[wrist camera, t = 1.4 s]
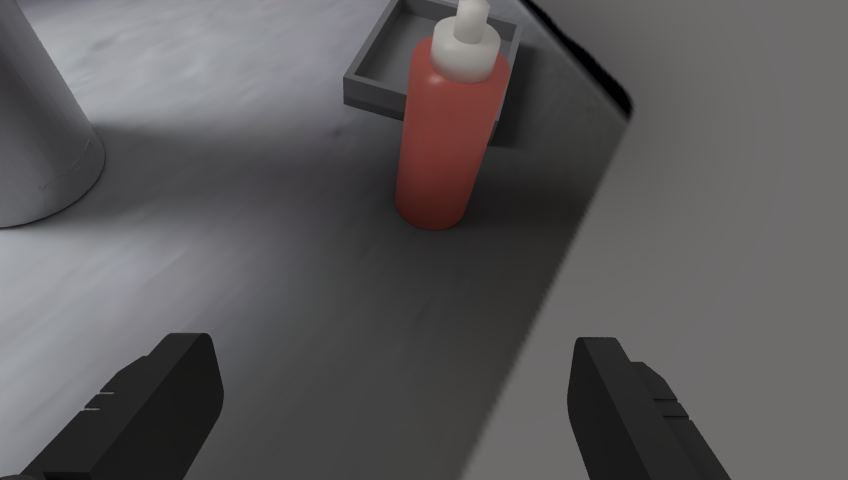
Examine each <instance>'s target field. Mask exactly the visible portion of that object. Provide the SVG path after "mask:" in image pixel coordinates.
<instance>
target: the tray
mask: <svg viewBox="0 0 848 480" xmlns="http://www.w3.org/2000/svg"><path fill="white" fill-rule="evenodd" d="M457 10H458V5H456V4H452V3H449V2H445V1H441V0H391V1H390V2H389V4H388V6H387V7H386V9H385V11H384V12H383V14H382V15H381V17H380V19H379V20H378V22H377V23H376V25H375V27H374V28H373V30H372V31H371V33H370V35H369V36H368V38H367V40H366V41H365V43H364V44H363V46H362V48H361V49H360V51H359V52H358V54H357V56H356V57H355V59H354V60H353V62H352V64H351V65H350V67H349V69H348V70H347V72H346V73H345V75H344V77H343V89H344V104H346V105H350V106H353V107H357V108H360V109H364V110H367V111H371V112H374V113H378V114H381V115H385V116H388V117H392V118H395V119H399V120H402V121H404V116H405V108H406V99H407V91H408V83H409V74H410V66H411V58H412V52H413V50H414V48H415V46H416V45H417V44H418V43H419V42H421V41H422V40H424V39H426V38H428V37H431V36H433V34H434V28H435V26H436V24H437V23H438V22H439V21H441V20H443V19H445V18H448V17H453V16H456V15H457ZM486 23H487V24H489V25H490V26H491V27H493V28H494V29H495V30H496V31H497V33H498V34H499V36H500V39H501V43H500V47H499V51H500V52H501V53H502V54H503V56H504V57H505V58H506V60H507V61H508V64H509V66H510V76H511V72H512V68H513V64H514V61H515V57H516V53H517V49H518V46H519V42H520V38H521V34H522V30H523V27H524V23H521V22H518V21H514V20H510V19H507V18H503V17H500V16H496V15H492V14H489V13H488V17H487V21H486ZM509 80H510V77H509ZM508 83H509V81H508ZM507 87H508V84H507ZM507 87H506V90H505V93H504V96H503V99H502V102H501V105H500V108H499V111H498V114H497V117H496V120H495V123H494V126H493V129H492V132H491V135H490V138H489V141H488V144H487V145H489V146H490V145H491V142H492V139H493V136H494V133H495V130H496V127H497V124H498V121H499V117H500V114H501V110H502V106H503V102H504V99H505V95H506V91H507Z"/></svg>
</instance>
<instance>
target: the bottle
mask: <svg viewBox="0 0 848 480" xmlns="http://www.w3.org/2000/svg"><path fill="white" fill-rule="evenodd" d="M489 9H490V5H489V3H488V2H487V1H485V0H459V4H458V10H457V15H456V16H453V17H448V18H445V19H443V20H441V21H439V22H438V23H437V24H436V26H435V28H434V34H433V36H431V37H428V38H426V39H424V40H422V41H421V42H419V43H418V44H417V45H416V46H415V48H414V50H413V52H412V58H411V66H410V74H409V83H408V91H407V99H406V108H405V116H404V124H403V133H402V141H401V149H400V158H399V166H398V174H397V183H396V191H395V205H396V208H397V210H398V212H399V214H400V215H401V216H402V217H403V218H404V219H405V220H406V221H407V222H408V223H410V224H412V225H414V226H416V227H418V228H421V229H425V230H443V229H447V228H450V227H452V226H454V225H455V224H457V223H458V222H459V221H460V220H461V218H462V217H463V215H464V213H465V210H466V207H467V204H468V201H469V198H470V195H471V192H472V189H473V186H474V183H475V180H476V177H477V174H478V171H479V168H480V165H481V162H482V159H483V156H484V153H485V150H486V147H487V144H488V141H489V138H490V135H491V132H492V129H493V126H494V123H495V120H496V117H497V114H498V111H499V108H500V105H501V102H502V99H503V96H504V93H505V90H506V87H507V84H508V81H509V77H510V66H509V64H508V61H507V60H506V58H505V57H504V56H503V54H502V53H501V52H500V51H499V47H500V43H501V39H500V36H499V34H498V33H497V31H496V30H495V29H494V28H493V27H491V26H490V25H489V24H487V23H486V21H487V17H488V13H489Z"/></svg>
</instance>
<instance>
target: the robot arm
mask: <svg viewBox="0 0 848 480" xmlns="http://www.w3.org/2000/svg"><path fill="white" fill-rule="evenodd" d="M104 160H105V152H104V147H103V144H102V142H101V141H100V139H99V137H98V136H97V134H96V133H95V131H94V129H93V128H92V126H91V124H90V123H89V121H88V119H87V118H86V116H85V114H84V113H83V111H82V109H81V108H80V106H79V104H78V103H77V101H76V99H75V98H74V96H73V94H72V92H71V90H70V89H69V87H68V86H67V84H66V82H65V81H64V79H63V77H62V76H61V74H60V73H59V71H58V69H57V68H56V66H55V64H54V63H53V61H52V59H51V58H50V56H49V55H48V53H47V51H46V50H45V48H44V46H43V45H42V43H41V41H40V40H39V38H38V37H37V35H36V33H35V32H34V30H33V28H32V27H31V25H30V23H29V22H28V20H27V19H26V17H25V15H24V14H23V12H22V10H21V9H20V7H19V6H18V4H17V2H16V1H15V0H0V227H9V226H14V225H20V224H26V223H29V222H32V221H35V220H38V219H42V218H45V217H47V216H49V215H51V214H53V213H56V212H58V211H60V210H62V209H64V208H65V207H67V206H68V205H70V204H72V203H73V202H75V201H76V200H78V199H79V198H80V197H81V196H82V195H83V194H84V193H86V192H87V191H88V190H89V189H90V188H91V187H92V185H93V184H94V183H95V181H96V180H97V179H98V178H99V175H100V173H101V171H102V169H103V167H104ZM223 399H224V390H223V384H222V380H221V376H220V372H219V367H218V363H217V359H216V354H215V350H214V346H213V342H212V339H211V337H210V336H209V335H208V334H207V333H170V334H168V335H167V336H166V337H164V339H163V340H162V341H161V342H160V343H159V344H158V345H157V346H156V347H155V348H154V349H153V351H152V352H151V353H150V354H149V355H148V356H142V357H141V358H139V359H137V360H136V361H134V362H133V363H131V364H130V365H128V366H126V367H125V368H123V369H122V370H120V371H119V372H117V373H116V375H115V376H114V377H113V378H112V379H111V380H110V381H109V382H108V383H107V384H106V385H105V386H104V387H103V388H102V389H101V390H100V394H99V395H95V396H94V397H93V398H92V400H91V401H90V402H89V403H88V404H87V405H86V406H85V409H84V411H80V412H79V413H78V414H77V415H76V416H75V417H74V418H73V419H72V420H71V421H70V422H69V423H68V425H67V426H66V427H65V428H64V429H63V430H62V431H61V432H60V433H59V434H58V435H57V436H56V437H55V438H54V439H53V440H52V441H51V442H50V443H49V444H48V445H47V446H46V447H45V448H44V450H43V451H42V452H41V453H40V454H39V455H38V456H37V457H36V458H35V459H34V460H33V461H32V462H31V463H30V464H29V465H28V466H27V467H26V468H25V469H24V470H23V471H22V472H21V473H20V474H19V475H11V476H5V477H1V478H0V480H183V478H184V476H185V475H186V473H187V471H188V469H189V468H190V466H191V464H192V462H193V461H194V459H195V457H196V456H197V454H198V452H199V450H200V449H201V447H202V445H203V443H204V442H205V440H206V438H207V437H208V435H209V433H210V431H211V430H212V428H213V426H214V424H215V423H216V421H217V419H218V417H219V415H220V413H221V409H222V405H223ZM567 405H568V414H569V419H570V423H571V426H572V429H573V432H574V435H575V438H576V441H577V444H578V446H579V449H580V452H581V455H582V458H583V461H584V464H585V467H586V469H587V472H588V475H589V478H590V480H731V479H730V477H729V476H728V474H727V473H726V471H725V470H724V468H723V467H722V465H721V464H720V462H719V461H718V459H717V458H716V456H715V455H714V453H713V452H712V450H711V449H710V447H709V446H708V445H707V443H706V441H705V440H704V438H703V437H702V435H701V434H700V432H699V431H698V429H697V428H696V426H695V425H694V423H693V422H692V421H691V420H689V416H688V414H687V413H686V411H685V410H684V408H683V407H682V405H681V404H680V403H678V402H677V398H676V396H675V395H674V393H673V392H672V390H671V389H670V387H669V386H668V384H667V383H666V381H665V380H664V379H663V378H662V377H661V376H660V375H658V374H657V373H656V372H655V371H653V370H652V369H651V368H650V367H648V366H647V365H646V364H645V363H643V362H630V360H629V359H628V357H627V355H626V354H625V352H624V350H623V349H622V347H621V345H620V343H619V342H618V340H617V339H616V338H611V337H610V338H609V337H607V338H604V337H579V338H577V340H576V342H575V346H574V353H573V360H572V367H571V374H570V380H569V387H568V394H567Z"/></svg>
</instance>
